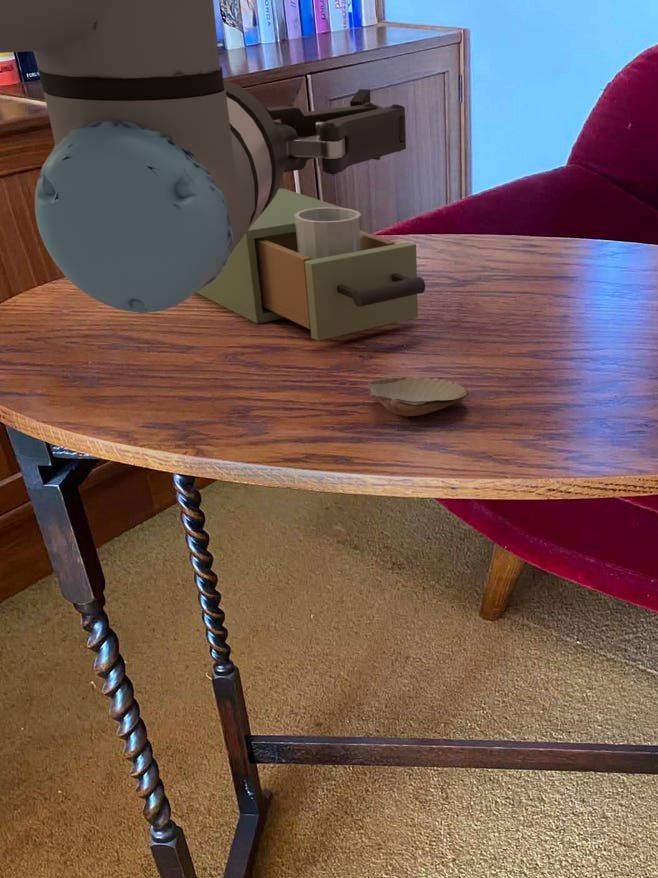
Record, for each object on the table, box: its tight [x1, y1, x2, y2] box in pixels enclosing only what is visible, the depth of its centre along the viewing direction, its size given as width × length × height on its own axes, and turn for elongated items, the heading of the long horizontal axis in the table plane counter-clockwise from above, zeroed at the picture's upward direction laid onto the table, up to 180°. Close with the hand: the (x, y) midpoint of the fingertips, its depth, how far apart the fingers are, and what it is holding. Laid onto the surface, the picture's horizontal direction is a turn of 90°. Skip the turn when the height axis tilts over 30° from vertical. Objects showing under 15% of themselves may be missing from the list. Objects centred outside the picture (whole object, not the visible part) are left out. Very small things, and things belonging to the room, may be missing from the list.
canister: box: [294, 207, 363, 260], centre depth 91 cm, size 6×6×8 cm
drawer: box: [254, 230, 426, 342], centre depth 91 cm, size 18×11×7 cm, turn 40°
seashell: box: [368, 376, 469, 417], centre depth 76 cm, size 8×3×8 cm
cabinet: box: [195, 187, 343, 325], centre depth 99 cm, size 15×13×9 cm
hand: (271, 108), depth 69 cm, fingers open, 13 cm apart
